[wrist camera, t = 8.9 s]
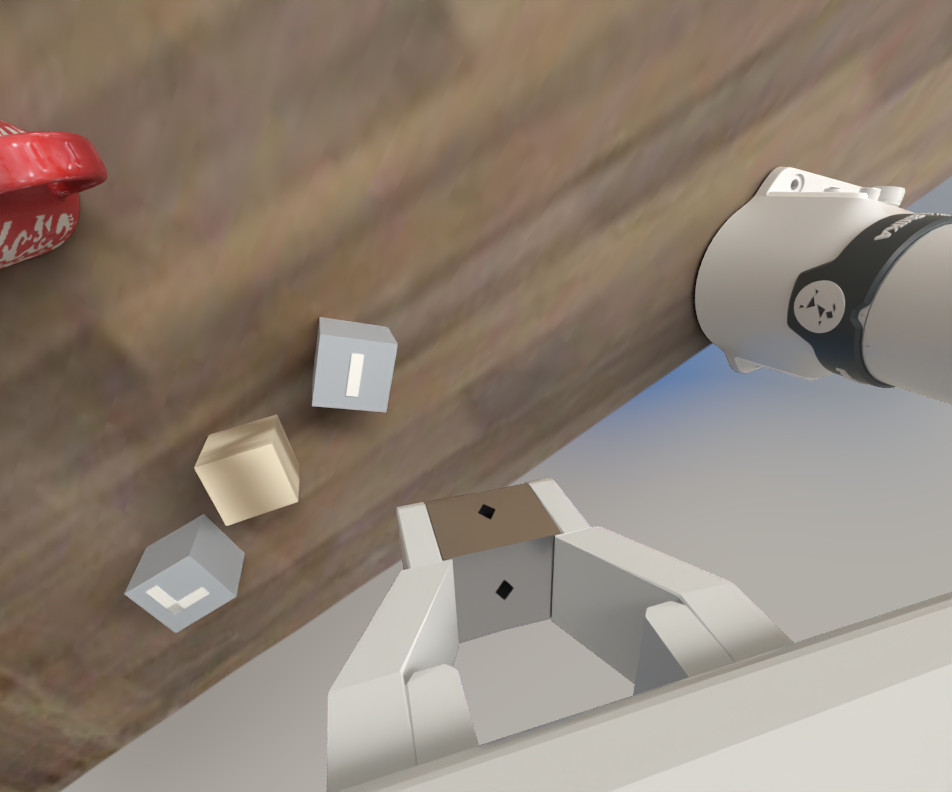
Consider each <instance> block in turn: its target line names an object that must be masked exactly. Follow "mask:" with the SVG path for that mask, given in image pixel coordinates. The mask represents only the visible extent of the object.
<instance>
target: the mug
mask: <svg viewBox="0 0 952 792" xmlns="http://www.w3.org/2000/svg"><path fill="white" fill-rule="evenodd" d="M106 179H107V172H106V169H105V166H104V164H103V162H102V160H101V158H100V156H99V154H98V152H97V151H96V149H95V147H94V146H93V144H92V143H91V142H90V141H89V140H88V139H87V138H85V137H83V136H81V135H77V134H72V133H66V132H50V131H39V132H27V131H25V130H23V129H21V128H19V127H17V126H14V125H12V124H9V123H7V122H4V121H1V120H0V269H3V268H5V267H8V266H11V265H13V264H16V263H19V262H21V261H24V260H27V259H32V258H35V257H37V256H39V255H43V254H45V253H47V252H50V251H52V250H54V249H56V248H57V247H59V246H60V245H61V244H63V243H64V242H65V241H66V240H67V239H68V238H69V237H70V235H71V234H72V233H73V232H74V230H75V228H76V225H77V222H78V218H79V214H80V201H79V195H78V192H81V191H84V190H87V189H89V188H92V187H95V186H97V185H99V184H101V183H103V182H105V180H106Z"/></svg>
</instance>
